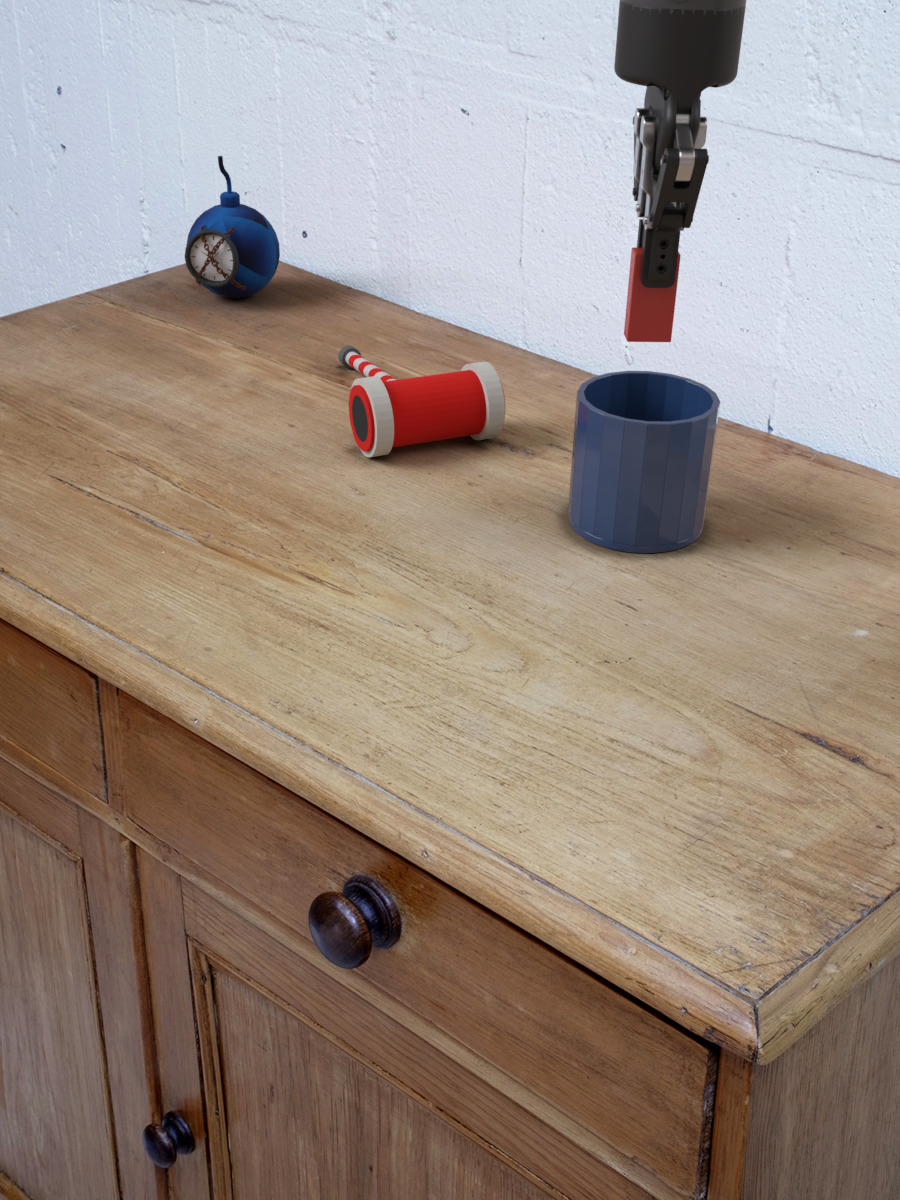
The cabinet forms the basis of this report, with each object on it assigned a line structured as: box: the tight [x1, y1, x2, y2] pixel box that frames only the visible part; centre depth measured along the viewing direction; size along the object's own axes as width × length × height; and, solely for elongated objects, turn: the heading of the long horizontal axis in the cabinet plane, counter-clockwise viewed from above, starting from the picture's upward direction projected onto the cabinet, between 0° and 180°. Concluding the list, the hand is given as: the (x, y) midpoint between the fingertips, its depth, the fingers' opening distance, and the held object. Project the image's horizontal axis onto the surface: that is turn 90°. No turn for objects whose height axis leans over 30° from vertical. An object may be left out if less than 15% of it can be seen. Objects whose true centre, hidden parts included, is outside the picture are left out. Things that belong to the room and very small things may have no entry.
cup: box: [567, 370, 721, 554], centre depth 96 cm, size 10×10×10 cm
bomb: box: [184, 155, 281, 299], centre depth 138 cm, size 10×11×15 cm
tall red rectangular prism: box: [623, 203, 682, 343], centre depth 87 cm, size 3×2×9 cm, turn 92°
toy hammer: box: [337, 345, 506, 458], centre depth 114 cm, size 23×12×6 cm, turn 24°
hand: (653, 279), depth 87 cm, fingers closed on tall red rectangular prism, 1 cm apart
